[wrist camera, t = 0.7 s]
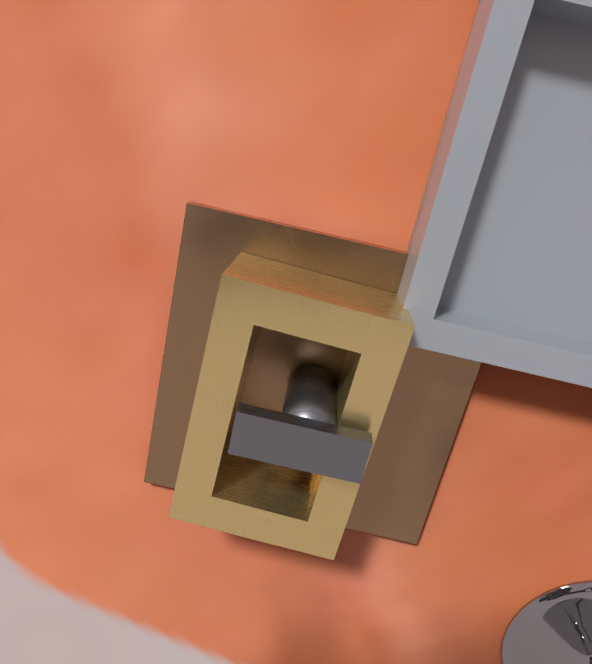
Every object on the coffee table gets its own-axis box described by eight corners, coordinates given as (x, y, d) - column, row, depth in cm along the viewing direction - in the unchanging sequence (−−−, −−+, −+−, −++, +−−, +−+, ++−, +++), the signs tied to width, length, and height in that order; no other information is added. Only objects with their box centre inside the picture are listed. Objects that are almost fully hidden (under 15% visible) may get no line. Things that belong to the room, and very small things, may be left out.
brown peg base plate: (507, 275, 19) (560, 316, 15) (415, 537, 23) (434, 634, 18) (189, 201, 19) (144, 219, 14) (147, 475, 22) (100, 558, 18)
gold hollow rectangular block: (241, 251, 19) (221, 274, 16) (401, 295, 19) (415, 326, 16) (184, 503, 22) (158, 564, 19) (320, 539, 22) (317, 606, 19)
